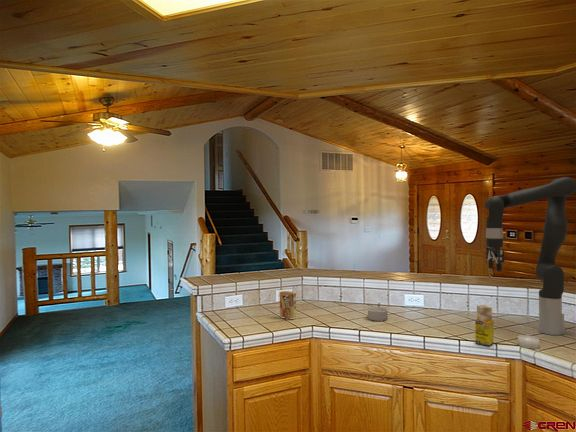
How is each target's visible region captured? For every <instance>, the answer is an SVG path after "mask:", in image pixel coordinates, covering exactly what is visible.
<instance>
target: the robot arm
mask: <svg viewBox="0 0 576 432" xmlns="http://www.w3.org/2000/svg"><path fill="white" fill-rule="evenodd" d="M574 193H576V180H575V179H574V178H571V177H570V176H569V177H567V176H563V177H557V178H554V179H553V180H551V182H550V183H547V184H544V185H540V186H536V187H531V188H525V189H524V188H523V189H521V190H515V191H512V192H509V193H506V194H501V195H495V196H492V197H488V198H487V199H486V200H485V201H484V208H485V209H486V210H487V211H488V216H487V218H486V221H485V222H486V224H485V225H486V229H485V242H486V243H485V246H486V248H485V260H487V261H488V265H487V268H488V269H492V270H493V269H494V260H495V263H496V264H495V265H496V267H495V268H496V269H495V270H496V272H502V271H503V268H502V267H503V266H502V264H503V263H505V251H504V249H501V248H502V247H504V230H503V217H504V211H505V208H513V207H514V208H515V207H517V206H522V205H525V204H530V203H533V202H537V201H540V200H544V199H547V208H546V213H545V221H544V226H543V231H542V232H543V233H542V239H541V246H540V252H539V256H538V260H537V264H536V267H535V275H536V277H537V279H538V280H540V281H542V282H543V283H542V289H539V290H538V330H539V332H540V333H542V334H544V335H545V334H546V335H551V336H561V335H565V314H564V313H563V297H562V296H563V293H564V292H565V273H564V270H563V268H562V267H561V266H560V265H557V264H556V259H557V255H558V252H559V250H560V248H561V247H562V246H563V244H564V242H565V240H566V237H567V232H568V231H567V230H568V219H567V214H566V208H565V207H566V201H567V197H569V196H571V195H573V194H574Z"/></svg>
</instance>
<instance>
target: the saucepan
mask: <svg viewBox="0 0 576 432" xmlns="http://www.w3.org/2000/svg"><path fill="white" fill-rule="evenodd" d="M366 310H367V318H368V319H369V320H371V321H373V320H375V321H374V322H383V321H382V320H384V321H386V320H388V311H389V309H388V308H387V307H383V306H381V302H378V303H377V306H369V307H367V308H366Z"/></svg>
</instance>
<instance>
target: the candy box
mask: <svg viewBox="0 0 576 432" xmlns="http://www.w3.org/2000/svg"><path fill="white" fill-rule="evenodd" d="M297 313H298V312H297V291H289V290H288V291H287V290H281V291H279V318H280V317H285V318H295V317H297Z"/></svg>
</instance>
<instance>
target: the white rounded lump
mask: <svg viewBox="0 0 576 432" xmlns="http://www.w3.org/2000/svg"><path fill="white" fill-rule="evenodd" d="M517 345H518V346H520V347H521V348H525V349H529V350H530V349H532V350H535V349H536V350H537V349H539V348H540V338H539V337H537V336H533V335H529V334H526V335H525V334H520V335H518V336H517Z"/></svg>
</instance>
